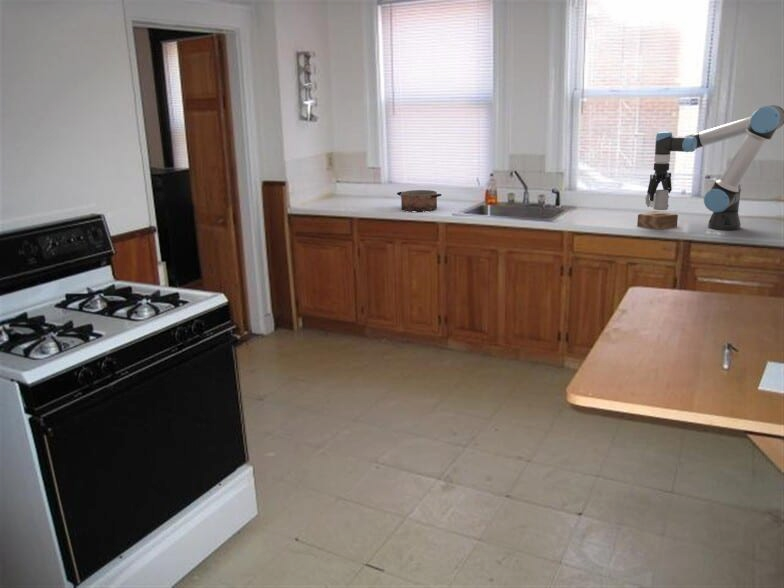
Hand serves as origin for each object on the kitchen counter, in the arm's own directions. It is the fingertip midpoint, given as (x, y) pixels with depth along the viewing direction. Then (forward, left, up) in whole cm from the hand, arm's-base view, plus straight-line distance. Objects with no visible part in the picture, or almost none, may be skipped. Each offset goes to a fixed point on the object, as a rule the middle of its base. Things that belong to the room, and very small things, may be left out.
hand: (658, 206), depth 371 cm
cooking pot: (+129, +64, -11) cm, 144 cm away
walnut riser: (0, 0, -11) cm, 11 cm away
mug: (0, +1, -2) cm, 2 cm away
